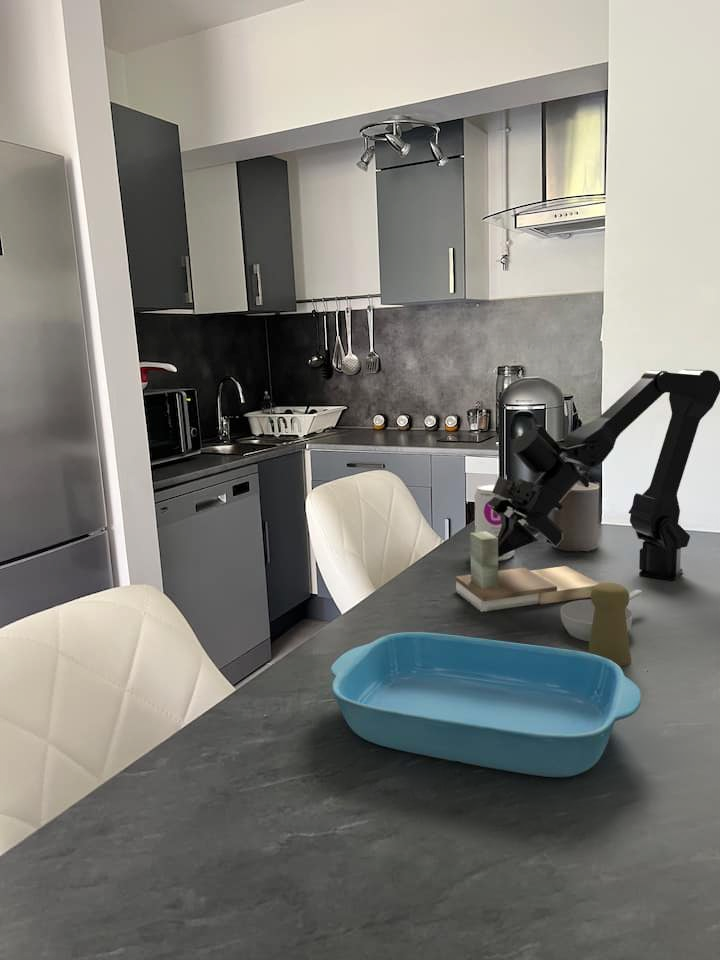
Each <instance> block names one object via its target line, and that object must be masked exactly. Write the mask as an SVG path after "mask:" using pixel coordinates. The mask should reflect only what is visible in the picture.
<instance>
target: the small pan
mask: <svg viewBox="0 0 720 960" xmlns="http://www.w3.org/2000/svg"><path fill="white" fill-rule="evenodd" d="M642 594H643V590H641V589H634V590H632V591H631V592H629V601H631V600H634V599H635V598H637V597H638V596H640V595H642ZM594 610H595V606H594V605H593V603H592V601H591V599H580V600H578V599H577V600H574V601H570V602H567V603H564V604H563V605H562V606H561V607H560V619H561V622H562V624H563V627H564V628H565V630H566V631H567V632H568V634H569V635H570V636H571V637H573V638H574V639H578V640H581V641H584V642H589V641H590V635H591V629H592V622H593V616H594ZM625 613H626V622H627V630H628V632H629V631H630V628H631V627H632V625H633V624H632V623H633V616H634V615H633V613H634V612H632V610H631V609H630V608H629V607H628V606H627V607H626V608H625Z"/></svg>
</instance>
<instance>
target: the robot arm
mask: <svg viewBox="0 0 720 960" xmlns="http://www.w3.org/2000/svg"><path fill="white" fill-rule="evenodd" d="M665 393H668V394H669V395H668V401H669V406H670V410H671V417H670V420H669V423H668V427H667V430H666V433H665V436H664V440H663V442H662V446H661V449H660V452H659V455H658V459H657V461H656V465H655V468H654V472H653V475H652V477H651V482H650V485H649V486H648V488H647V489H646V490H645V491H644V492H643V493H642V494H640V493H637V492H636V493H635V495H634V496H633V501H632V505H631V507H630V509H629V510H628V514H629V515H630V516H629V523H630V525H631V527H632V528H633V530H634V531H635V534H636V536H637V539H638V540H641V541H643V542H642V547H641V548H640V549H639V559H638V560H639V564H638V565H639V566H638V567H639V569H638V570H640V571H639V572H638V575H639V576H642V577H647V578H656V579H663V580H668V581H676V580H677V578H678V577H679V576H681V574H682V573H683V568H681V559H682V558H681V557H682V556H681V555H682V548H687V547H688V545H689V542H690V539H691V536H690V534H689V533H688V532H687V531H686V530H685V529H684V528H683V527H682V526H681V525H680V524H679V521H680V513H681V509H680V505H679V504H680V503H679V499H678V492H679V488H680V486H681V482H682V479H683V477H684V476H683V475H684V473H685V470H686V466H687V462H688V460H689V458H690V457H689V456H690V454H691V453H690V452H691V449H692V447H693V444H694V440H695V438H696V434H697V430H698V428H699V424H700V421H701V420H702V419H703V418H704V417H705V416H706V415H707V413H709V412H710V411H711V409H712V408H713V407H714V406H715V403H716V401H717V399H718V397H719V395H720V377H719V375H718V374H717V373H716V372H715V371H713V370H707V369H706V370H705V369H688V368H687V369H682V370H680V371H678V372H677V373H676V372H669V371H667V370H653V369H652V370H651V369H650V370H648V371H645V373H643V374H642V375H641V377H640V379H639V380H637V382H635V384H633V385H632V386H631V388H629V389H628V390H627V391H626V392H625V393H624V394H623V395H621V396H620V397H619V398H618V399H617V400H616V401H615V402H614V403H613V404H612V405H611V406H610V407H609V408H607V410H606V411H604V412H603V413H602V414H601V415H600V416H599V417H597V418H596V419H594V420H593V421H590V422H588V423H585V424H583V425H581V426H579V427H577V428H576V429H575V430H573V431H572V432H570V433H568V434H567V435H566V437H565V438H563V439H559V440H555V439H554V438H553V436H551V435H550V434H549V433H548V431H547V429H546V428H545V427H544V426H543V425H540V424H535V425H534V426H533V427H532V429H529V430H526V431H524V432H523V433H522V434H521V435H518V436H517V437H516V438H515V439H514V441H513V442H512V444H511V447H510V451H511V452H512V453H513V455H514V456H515V457H517V458H518V460H519V461H520V462H521V463H522V464H523V465H524V466H525V467H526V468H527V469H528V470H529V471H530V472H531V473H533V474H538V473H541V474H540V476H539V477H538V478H537V479H536V480H535V482H531V481H527V480H525V479H523V478H519V479H517V481H515V482H514V481H512V480H509V479H507V478H504V477H501V476H498V477H497V480H496V482H495V483H494V484H495V487H494V489H493V491H492V493H494V494H497V495H498V494H499V496H497V497H493V498H492V500H491V501H490V502H489V503H488V506H489V507H491V508H492V509H493V510H494V511H495V512H496V513H497V514H498V515H499V516H500V517H501V523H502V526H501V529H500V532H499V535H498V537H497V538H498V557H500V556H502V555H504V554H506V553H508V552H511V551H513V550H514V551H515V550H518V549H520V548H521V547H524V546H526V545H529V544H533V543H537V542H538V541H539V540H538V539H537V537H538V536H539V534H542V536H543V537H544V538H545V539H546V541H545V542H546V543H547V544H548V545H551V546H552V547H553V546H554V547H557V546H558V545H559V544H560V542H561V541H562V540H563V531H562V530H561V529H560V528H559V527H558V526H557V525H556V524H555V523H554V522H553V519H552V520H551V518H550V517H549V516H550V515H551V514H553V510H554V509H556V510H559V511H560V510H561V508H562V507H563V506H562V505H561V504H560V502H561V501H562V500H563V499H564V497H565V496H566V495H567V494H568V493H569V492H570V490H571V489H572V488H573V487H574V486H575V484H577V485H580V486H584V487H589V483H590V480H589V472H588V471H586V470H582V469H581V470H580V469H579V468H578V467H577V466H576V465H575V464H577V465H579V466H580V465H581V466H584V467H589V468H591V467H592V468H593V467H595V468H596V467H598V466H600V465H601V464H602V463H603V462H604V461H605V460H606V459H607V457H608V456H609V454H610V453H611V452H612V451H613V449H614V448H615V444H616V441H617V439H618V438H619V436H620V435H621V434H622V433H623V432H624V431H625V430H626V429H627V428H629V426H630V425H631V424H632V423H634V422H635V421H636V420H637V419H638V418H639V417H640V416H642V414H644V413H645V411H647V410H648V409H649V408H650V407H651V406H652V405H653V404H654V403H655V402H656V401H658V399H659V398H661V397H662V395H664V394H665ZM562 457H565V459H566V460H567V461H565V460H564V459H563V458H562ZM503 497H504V498H503ZM508 499H511V500H510V501H509V500H508ZM554 547H553V548H554Z"/></svg>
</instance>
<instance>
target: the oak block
mask: <svg viewBox="0 0 720 960" xmlns="http://www.w3.org/2000/svg"><path fill="white" fill-rule="evenodd" d="M530 571H531V572H533V573H535V574H536V575H538V576H540V577H542V578H543V579H545V580H547V581H548V582H550V583H552V584H554V585H555V586H557V591H553V592H546V593H539V603H538V604H540V605H545V604H546V605H547V604H551V603H553V604H554V603H559V602H566V601H571V600H578V599H580V600H581V599H586V598H591V592H592V589H593V588H594V586H595V585H597V584H600V582H597V581H595V580H593V579H592V578H590V577H588V576H586V575H584V574H582V573H580V572H578V571H576V570H575V569H572V568H570V567H569V566H566V565H563V566H556V567H548V568H541V569H533V570H530Z"/></svg>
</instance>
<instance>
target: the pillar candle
mask: <svg viewBox="0 0 720 960" xmlns="http://www.w3.org/2000/svg"><path fill="white" fill-rule="evenodd" d="M599 498H600V485H599V484H596V483H592V482H589V487H584V486H580V485H577V484H575V486H574V487H573V488H572V489H571V490H570V492H569V493H568V494H567V495H566V496H565V497H564V499H563V500H562V501H561V502H560V504H561V505H562V506H563V507H562V508H561V510H560V511H559V510H556V509H554V510H553V512H552V521H553V522H554V523H555V524H556V525H557V526H558V527H559V528H560V529H561V530H562V531H563V540H562V541H561V542H560V544H559V545H558V546H557V547H554V546H552V547H553V548H554V549H556V548H557V549H556V550H559V551H563V550H564V551H563V552H570V551H587V550H592V551H594V550H593V549H595V548H596V547H597V548H598V537H599V536H598V535H599V533H598V532H599V509H600V508H599V502H600V499H599ZM597 548H596V549H597ZM596 549H595V550H596ZM587 552H588V551H587Z"/></svg>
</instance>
